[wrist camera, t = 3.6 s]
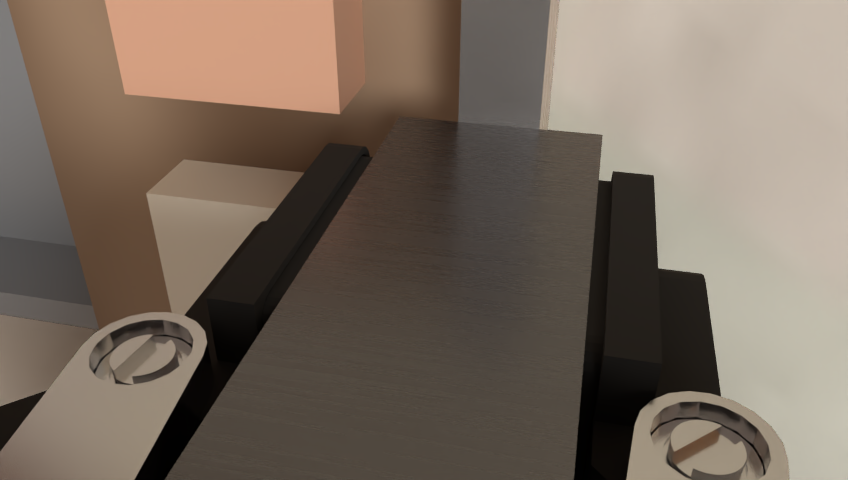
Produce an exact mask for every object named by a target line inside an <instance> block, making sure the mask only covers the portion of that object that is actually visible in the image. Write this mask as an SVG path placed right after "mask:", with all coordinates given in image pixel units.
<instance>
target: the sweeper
mask: <svg viewBox="0 0 848 480" xmlns="http://www.w3.org/2000/svg"><path fill="white" fill-rule="evenodd" d="M559 1H560V0H462V1H461V39H460V77H459V115H458V122H456V121H445V120H434V119H423V118H412V117H401V116H399V118H398V120H397V121H396V123H395V124H394V126H393V127H392V129H391V130H390V132H389V133H388V135H387V137H386V138H385V140H384V141H383V143H382V144H381V146H380V147H379V149H378V150H377V152H376V154H375V155H374V157H373V158H372V160H371V161H370V163H369V164H368V166H367V168H366V169H365V171H364V172H363V174H362V175H361V177H360V178H359V180H358V181H357V183H356V185H355V186H354V188H353V189H352V191H351V192H350V194H349V195H348V197H347V198H346V200H345V202H344V203H343V205H342V206H341V208H340V209H339V211H338V212H337V214H336V215H335V217H334V219H333V220H332V222H331V223H330V225H329V226H328V228H327V229H326V231H325V232H324V234H323V236H322V237H321V239H320V240H319V242H318V243H317V245H316V246H315V248H314V249H313V251H312V253H311V254H310V256H309V257H308V259H307V260H306V262H305V263H304V265H303V266H302V268H301V270H300V271H299V273H298V274H297V276H296V277H295V279H294V280H293V282H292V283H291V285H290V287H289V288H288V290H287V291H286V293H285V294H284V296H283V297H282V299H281V301H280V302H279V304H278V305H277V307H276V308H275V310H274V311H273V313H272V314H271V316H270V318H269V319H268V321H267V322H266V324H265V325H264V327H263V328H262V330H261V331H260V333H259V335H258V336H257V338H256V339H255V341H254V342H253V344H252V345H251V347H250V348H249V350H248V352H247V353H246V355H245V356H244V358H243V359H242V361H241V362H240V364H239V365H238V367H237V369H236V370H235V372H234V373H233V375H232V376H231V378H230V379H229V381H228V382H227V384H226V386H225V387H224V389H223V390H222V392H221V393H220V395H219V396H218V398H217V399H216V401H215V403H214V404H213V406H212V407H211V409H210V410H209V412H208V413H207V415H206V417H205V418H204V420H203V421H202V423H201V424H200V426H199V427H198V429H197V430H196V432H195V434H194V435H193V437H192V438H191V440H190V441H189V443H188V444H187V446H186V447H185V449H184V451H183V452H182V454H181V455H180V457H179V458H178V460H177V461H176V463H175V464H174V466H173V468H172V469H171V471H170V472H169V474H168V475H167V477H166V478H165V480H574V472H575V459H576V447H577V435H578V423H579V411H580V399H581V387H582V375H583V363H584V351H585V338H586V326H587V314H588V302H589V290H590V278H591V266H592V254H593V242H594V230H595V217H596V205H597V193H598V181H599V169H600V157H601V145H602V135H597V134H586V133H575V132H564V131H554V130H548V120H549V109H550V98H551V88H552V77H553V66H554V55H555V44H556V33H557V23H558V12H559Z"/></svg>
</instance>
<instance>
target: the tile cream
mask: <svg viewBox="0 0 848 480" xmlns="http://www.w3.org/2000/svg"><path fill="white" fill-rule="evenodd" d="M303 174H304V173H303V172H294V171H285V170H276V169H267V168H257V167H248V166H239V165H230V164H221V163H211V162H202V161H193V160H183V161H181V162H180V163H179V164H178V165H177V166H176V167H175V168H174V169H173V170H171V171H170V172H169V173H168V174H167V175H166V176H165V177H164V178H163V179H161V180H160V181H159V182H158V183H157V184H156V185H155V186H154V187H153V188H151V189H150V190H149V191H148V192H147V193H146V195H147V200H148V204H149V209H150V214H151V218H152V223H153V227H154V232H155V237H156V241H157V246H158V251H159V255H160V260H161V265H162V269H163V274H164V279H165V283H166V288H167V293H168V297H169V302H170V307H171V311H172V313H175V314H180V315H185V314H186V312H187V311H188V310H189V309H190V307H191V306H192V305H193V304H194V302H195V301H196V300H197V299H198V297H199V296H200V295H201V294H202V292H203V291H204V290H205V289H206V287H207V286H208V285H209V284H210V282H211V281H212V280H213V279H214V277H215V276H216V275H217V274H218V272H219V271H220V270H221V269H222V267H223V266H224V265H225V264H226V262H227V261H228V260H229V259H230V257H231V256H232V255H233V254H234V252H235V251H236V250H237V249H238V247H239V246H240V245H241V244H242V242H243V241H244V240H245V239H246V237H247V236H248V235H249V234H250V232H251V231H252V230H253V229H254V227H255V226H256V225H257V224H259V223H260V222H261V221H267V220H268V218H269V217H270V216H271V215H272V213H273V212H274V211H275V210H276V208H277V207H278V206H279V204H280V203H281V202H282V201H283V199H284V198H285V197H286V196H287V194H288V193H289V192H290V190H291V189H292V188H293V187H294V185H295V184H296V183H297V182H298V180H299V179H300V178H301V176H302V175H303Z"/></svg>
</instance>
